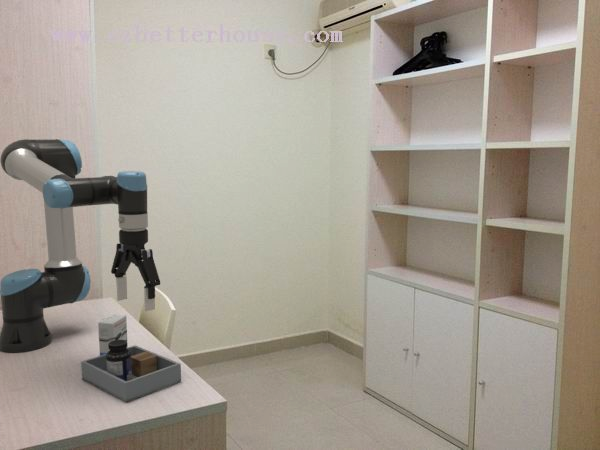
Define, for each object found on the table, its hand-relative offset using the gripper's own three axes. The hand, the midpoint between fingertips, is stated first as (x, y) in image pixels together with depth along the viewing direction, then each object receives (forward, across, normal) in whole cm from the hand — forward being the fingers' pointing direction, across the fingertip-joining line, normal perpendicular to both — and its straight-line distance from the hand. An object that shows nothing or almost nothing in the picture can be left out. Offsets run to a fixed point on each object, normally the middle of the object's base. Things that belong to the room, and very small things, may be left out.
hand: (135, 304), depth 156 cm
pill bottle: (+18, +5, -8) cm, 21 cm away
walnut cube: (+18, +5, -1) cm, 19 cm away
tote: (+19, +5, -5) cm, 20 cm away
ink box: (+20, -15, +1) cm, 25 cm away
